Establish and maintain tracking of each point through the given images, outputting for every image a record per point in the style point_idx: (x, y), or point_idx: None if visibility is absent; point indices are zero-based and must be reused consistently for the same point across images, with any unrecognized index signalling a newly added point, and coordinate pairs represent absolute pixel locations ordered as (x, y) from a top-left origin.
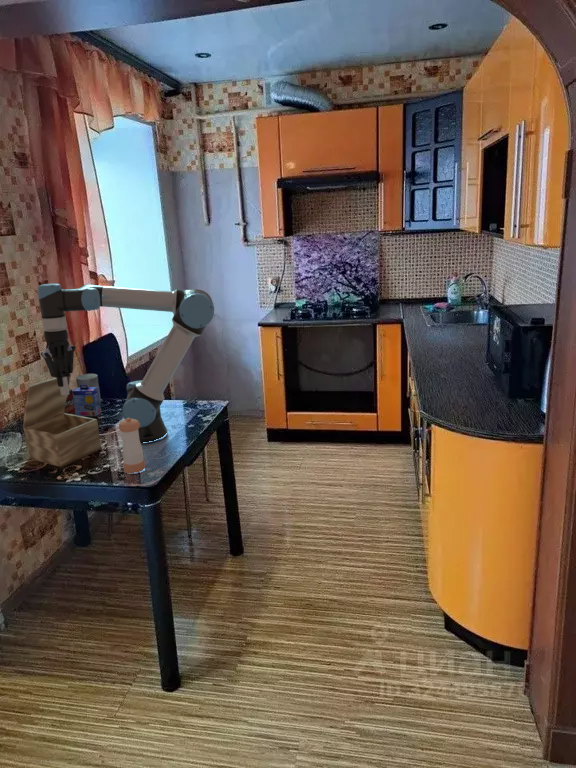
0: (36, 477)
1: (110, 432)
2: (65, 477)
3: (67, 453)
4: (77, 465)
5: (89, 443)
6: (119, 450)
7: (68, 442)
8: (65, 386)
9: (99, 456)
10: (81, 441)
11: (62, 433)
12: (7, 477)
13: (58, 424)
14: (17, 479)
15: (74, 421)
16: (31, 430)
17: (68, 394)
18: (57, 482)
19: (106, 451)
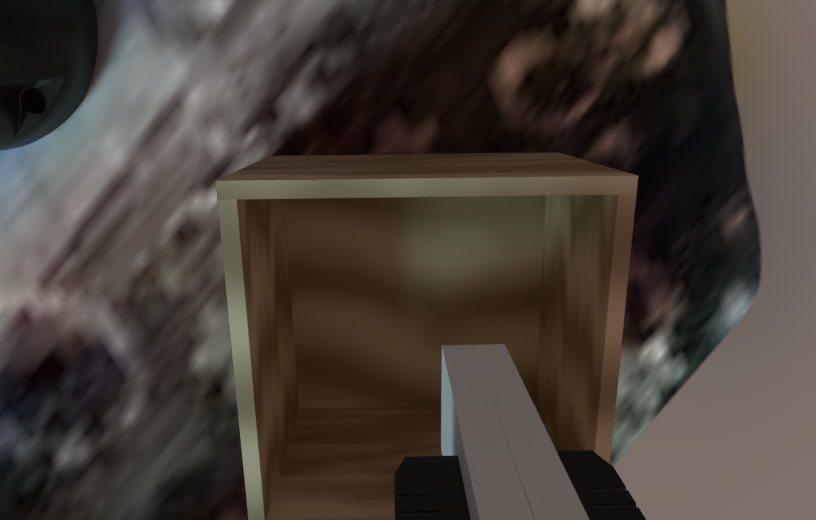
0: (701, 172)
1: (63, 313)
2: (651, 16)
3: (525, 158)
4: (505, 90)
5: (347, 160)
6: (229, 24)
7: (520, 166)
8: (520, 418)
9: (355, 72)
10: (408, 164)
11: (584, 175)
12: (745, 308)
13: (334, 481)
14: (749, 242)
15: (266, 404)
16: (609, 449)
17: (458, 347)
18: (715, 3)
19: (281, 93)
